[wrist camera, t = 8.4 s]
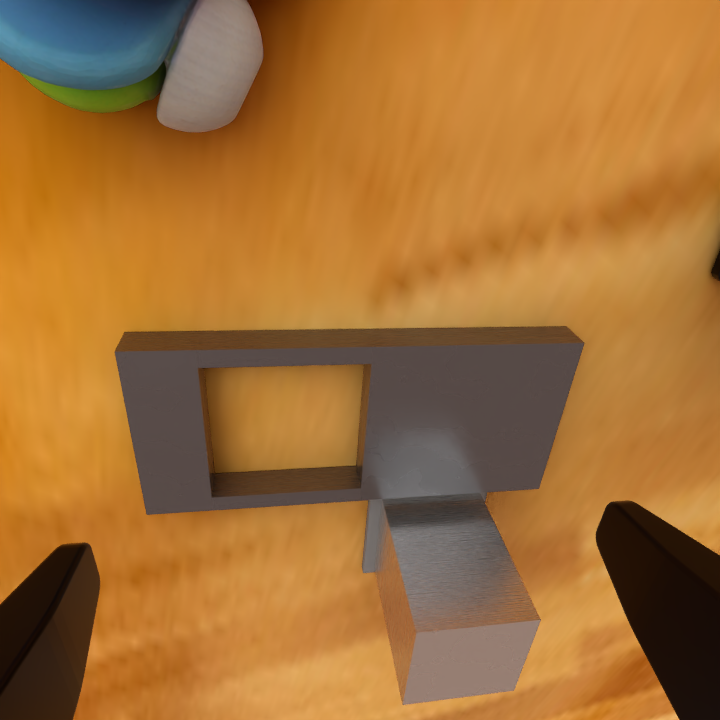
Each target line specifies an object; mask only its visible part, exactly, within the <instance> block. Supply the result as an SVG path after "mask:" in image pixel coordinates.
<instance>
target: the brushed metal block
mask: <svg viewBox="0 0 720 720" xmlns="http://www.w3.org/2000/svg"><path fill="white" fill-rule="evenodd" d="M374 569H375V574H376V578H377V583H378V588H379V593H380V598H381V603H382V608H383V612H384V617H385V622H386V627H387V632H388V637H389V641H390V646H391V651H392V656H393V661H394V666H395V671H396V675H397V680H398V685H399V690H400V695H401V700H402V705H406V704H414V703H421V702H429V701H437V700H444V699H452V698H460V697H468V696H475V695H483V694H491V693H498V692H506V691H514V689H515V686H516V684H517V681H518V678H519V676H520V673H521V671H522V668H523V665H524V663H525V660H526V657H527V655H528V652H529V650H530V647H531V644H532V642H533V639H534V636H535V634H536V631H537V629H538V626H539V623H540V621H541V619H540V617H539V615H538V613H537V611H536V609H535V607H534V605H533V602H532V600H531V598H530V596H529V594H528V592H527V590H526V588H525V586H524V584H523V582H522V580H521V577H520V575H519V573H518V571H517V569H516V567H515V565H514V563H513V561H512V559H511V557H510V554H509V552H508V550H507V548H506V546H505V544H504V542H503V540H502V538H501V536H500V534H499V531H498V529H497V527H496V525H495V523H494V521H493V519H492V517H491V515H490V513H489V511H488V509H487V506H486V504H485V502H484V500H483V498H482V496H481V494H480V493H468V494H452V495H437V496H422V497H407V498H392V499H382V501H381V509H380V518H379V527H378V535H377V544H376V553H375V562H374Z"/></svg>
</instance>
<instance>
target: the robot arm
mask: <svg viewBox="0 0 720 720" xmlns="http://www.w3.org/2000/svg"><path fill="white" fill-rule="evenodd" d="M711 273H712V276H713V278H714V279H716V280H718V281H720V251H719V254H718V256H717V258H716V261H715V263H714V266H713V268H712V272H711ZM596 542H597V546H598V549H599V551H600V554H601V556H602V559H603V561H604V563H605V566H606V568H607V571H608V573H609V576H610V578H611V580H612V583H613V585H614V588H615V590H616V593H617V595H618V598H619V600H620V602H621V605H622V607H623V610H624V612H625V614H626V617H627V619H628V621H629V623H630V626H631V628H632V630H633V632H634V634H635V636H636V638H637V640H638V642H639V644H640V645H641V647H642V649H643V651H644V653H645V655H646V657H647V659H648V661H649V663H650V665H651V666H652V668H653V670H654V672H655V674H656V676H657V678H658V680H659V682H660V684H661V686H662V687H663V689H664V691H665V693H666V695H667V697H668V699H669V701H670V703H671V705H672V707H673V708H674V710H675V712H676V714H677V716H678V718H679V720H720V555H718V554H717V553H715V552H713V551H712V550H710V549H709V548H707V547H705V546H704V545H702V544H701V543H699V542H697V541H696V540H694V539H693V538H691V537H689V536H688V535H686V534H685V533H683V532H681V531H680V530H678V529H677V528H675V527H673V526H672V525H670V524H669V523H667V522H665V521H664V520H662V519H661V518H659V517H657V516H656V515H654V514H653V513H651V512H649V511H648V510H646V509H645V508H643V507H642V506H640V505H638V504H637V503H635V502H633V501H615V502H610V503H609V504H608V505H607V506H606V508H605V511H604V513H603V516H602V518H601V521H600V523H599V526H598V528H597V531H596ZM99 590H100V576H99V572H98V569H97V565H96V562H95V558H94V555H93V552H92V548H91V546H90V545H89V544H88V543H71V544H63V545H60V546H59V547H57V548H56V549H55V550H54V551H53V552H52V553H51V554H50V555H49V556H48V557H47V558H46V559H45V560H44V561H43V562H42V563H41V564H40V565H39V566H38V567H37V568H36V569H35V570H34V571H33V572H32V573H31V574H30V575H29V576H28V577H27V578H26V579H25V580H24V581H23V582H22V583H21V584H20V585H19V586H18V587H17V588H16V589H15V590H14V591H13V592H12V593H11V594H10V595H9V596H8V597H7V598H6V599H5V600H4V601H3V602H2V603H1V604H0V720H73V717H74V714H75V710H76V707H77V703H78V699H79V696H80V692H81V688H82V683H83V678H84V673H85V667H86V662H87V656H88V651H89V645H90V640H91V635H92V629H93V624H94V618H95V613H96V607H97V602H98V596H99Z"/></svg>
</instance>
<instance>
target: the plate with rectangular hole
mask: <svg viewBox="0 0 720 720" xmlns="http://www.w3.org/2000/svg"><path fill="white" fill-rule="evenodd" d="M583 346H584V342H583V341H582V340H581V339H580V338H578V337H577V336H576V335H575V334H574V333H573V332H572V331H571V330H570V329H569V328H568V327H567V326H560V327H484V328H407V329H330V330H254V331H177V332H124V334H123V336H122V338H121V340H120V342H119V344H118V346H117V348H116V350H115V356H116V361H117V366H118V371H119V376H120V381H121V386H122V391H123V396H124V401H125V407H126V412H127V417H128V422H129V427H130V432H131V437H132V442H133V447H134V452H135V458H136V463H137V468H138V473H139V478H140V483H141V488H142V493H143V498H144V503H145V508H146V514H147V515H150V514H165V513H180V512H195V511H210V510H225V509H240V508H256V507H271V506H286V505H301V504H316V503H331V502H346V501H362V500H377V499H392V498H407V497H422V496H437V495H452V494H468V493H483V492H498V491H513V490H528V489H539V487H540V483H541V480H542V477H543V474H544V471H545V467H546V464H547V461H548V458H549V455H550V451H551V448H552V445H553V442H554V439H555V435H556V432H557V429H558V426H559V423H560V419H561V416H562V413H563V410H564V407H565V403H566V400H567V397H568V394H569V391H570V387H571V384H572V381H573V378H574V375H575V371H576V368H577V365H578V362H579V359H580V355H581V352H582V349H583ZM345 364H364V371H363V384H362V397H361V410H360V423H359V436H358V449H357V462H356V466H345V467H327V468H309V469H291V470H273V471H254V472H236V473H218V474H215V472H214V462H213V453H212V443H211V433H210V423H209V413H208V403H207V393H206V383H205V373H204V368H219V367H261V366H303V365H345Z"/></svg>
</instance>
